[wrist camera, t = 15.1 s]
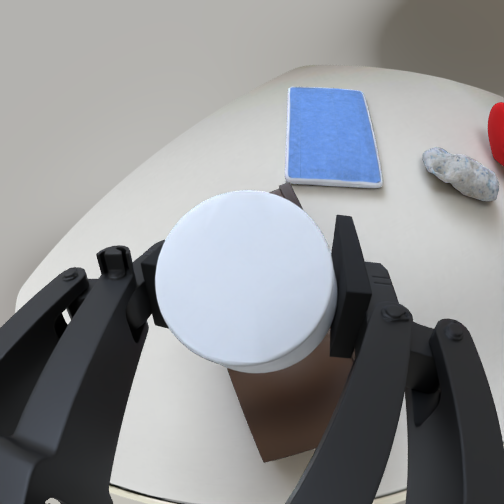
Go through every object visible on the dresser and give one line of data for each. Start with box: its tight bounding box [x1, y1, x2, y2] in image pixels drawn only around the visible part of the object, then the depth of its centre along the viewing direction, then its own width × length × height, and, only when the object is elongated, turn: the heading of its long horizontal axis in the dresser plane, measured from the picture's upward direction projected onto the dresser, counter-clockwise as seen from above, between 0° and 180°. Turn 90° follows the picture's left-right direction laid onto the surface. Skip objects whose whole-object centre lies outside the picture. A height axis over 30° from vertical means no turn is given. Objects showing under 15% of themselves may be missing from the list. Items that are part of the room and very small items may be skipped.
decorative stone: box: [423, 147, 499, 201], centre depth 27 cm, size 13×7×5 cm, turn 76°
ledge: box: [227, 182, 355, 463], centre depth 26 cm, size 26×12×5 cm, turn 20°
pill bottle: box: [155, 190, 338, 373], centre depth 11 cm, size 6×6×10 cm
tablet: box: [285, 87, 383, 188], centre depth 35 cm, size 19×13×1 cm, turn 175°
